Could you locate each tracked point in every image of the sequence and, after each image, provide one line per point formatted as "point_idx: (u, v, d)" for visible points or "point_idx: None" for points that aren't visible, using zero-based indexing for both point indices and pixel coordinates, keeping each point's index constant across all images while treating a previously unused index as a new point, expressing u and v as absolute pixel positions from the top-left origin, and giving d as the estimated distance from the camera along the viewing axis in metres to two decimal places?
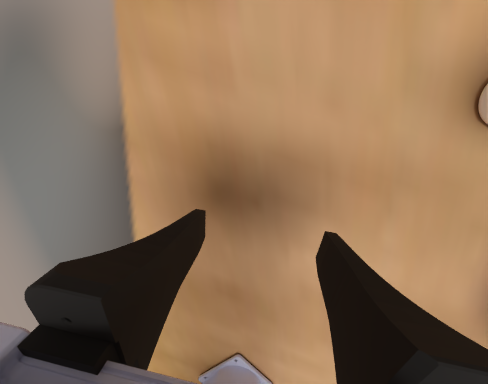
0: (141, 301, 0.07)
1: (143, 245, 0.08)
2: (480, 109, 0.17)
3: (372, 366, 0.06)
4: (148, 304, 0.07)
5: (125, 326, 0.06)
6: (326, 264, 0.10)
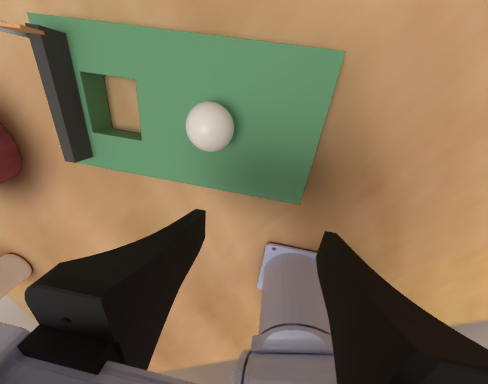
0: (141, 301, 0.07)
1: (143, 245, 0.08)
2: (30, 273, 0.34)
3: (372, 366, 0.06)
4: (148, 304, 0.07)
5: (125, 326, 0.06)
6: (326, 264, 0.10)
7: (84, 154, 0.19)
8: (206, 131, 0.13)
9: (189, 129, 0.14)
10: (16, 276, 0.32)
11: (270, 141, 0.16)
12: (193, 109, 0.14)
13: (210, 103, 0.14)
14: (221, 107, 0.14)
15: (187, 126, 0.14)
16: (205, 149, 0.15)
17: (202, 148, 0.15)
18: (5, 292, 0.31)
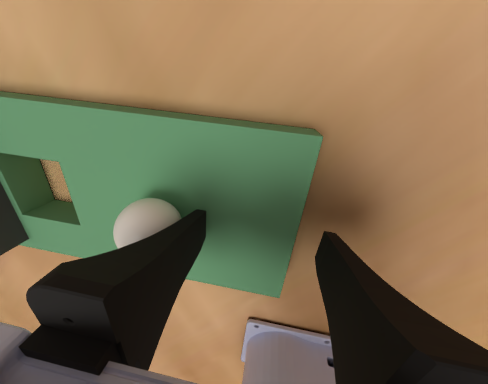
0: (143, 301, 0.07)
1: (144, 246, 0.08)
2: None
3: (370, 366, 0.06)
4: (149, 304, 0.07)
5: (127, 326, 0.06)
6: (325, 264, 0.10)
7: (14, 241, 0.15)
8: None
9: (115, 243, 0.10)
10: None
11: (234, 233, 0.13)
12: (119, 217, 0.10)
13: (142, 208, 0.10)
14: (158, 211, 0.10)
15: (114, 238, 0.10)
16: None
17: None
18: None
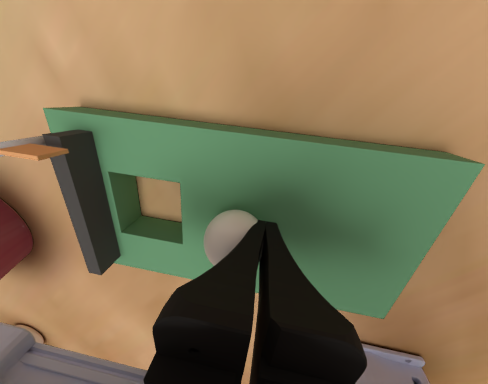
0: None
1: (235, 263, 0.07)
2: None
3: (260, 340, 0.06)
4: None
5: None
6: (262, 252, 0.11)
7: (111, 259, 0.15)
8: (205, 233, 0.11)
9: None
10: None
11: (353, 255, 0.13)
12: None
13: (231, 214, 0.11)
14: (230, 224, 0.10)
15: None
16: None
17: None
18: None
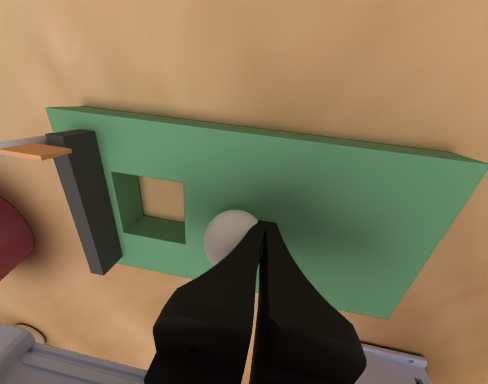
0: None
1: (235, 264, 0.07)
2: None
3: (260, 340, 0.06)
4: None
5: None
6: (262, 252, 0.11)
7: (113, 259, 0.15)
8: None
9: None
10: None
11: (357, 255, 0.13)
12: None
13: (231, 213, 0.11)
14: (228, 224, 0.10)
15: None
16: None
17: None
18: None
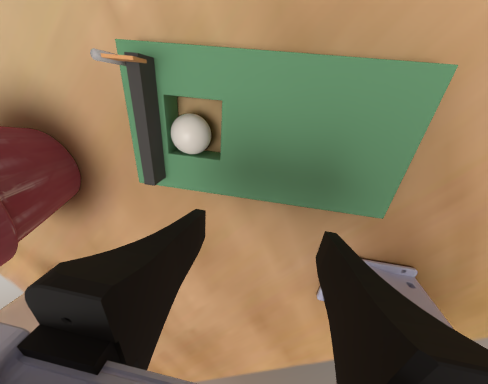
0: (141, 301, 0.07)
1: (143, 245, 0.08)
2: None
3: (372, 366, 0.06)
4: (148, 304, 0.07)
5: (125, 326, 0.06)
6: (326, 264, 0.10)
7: (160, 176, 0.19)
8: (185, 130, 0.16)
9: (173, 134, 0.17)
10: None
11: (359, 157, 0.16)
12: None
13: (187, 113, 0.17)
14: (196, 115, 0.17)
15: (171, 133, 0.17)
16: (188, 149, 0.17)
17: (186, 149, 0.17)
18: None
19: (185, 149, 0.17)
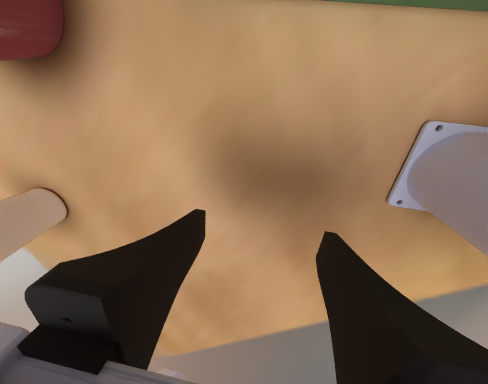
0: (141, 301, 0.07)
1: (143, 245, 0.08)
2: (65, 215, 0.27)
3: (372, 366, 0.06)
4: (148, 304, 0.07)
5: (125, 326, 0.06)
6: (326, 264, 0.10)
7: None
8: None
9: None
10: (50, 214, 0.25)
11: None
12: None
13: None
14: None
15: None
16: None
17: None
18: (37, 232, 0.24)
19: None
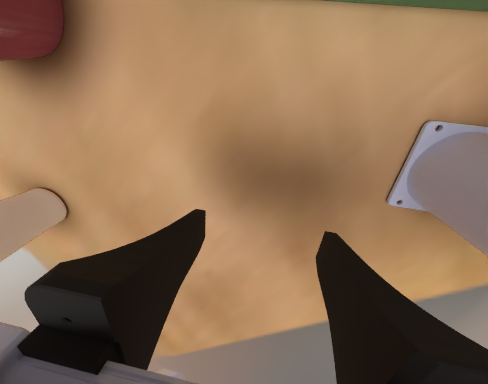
0: (141, 301, 0.07)
1: (143, 245, 0.08)
2: (65, 215, 0.27)
3: (372, 366, 0.06)
4: (148, 304, 0.07)
5: (125, 326, 0.06)
6: (326, 264, 0.10)
7: None
8: None
9: None
10: (50, 214, 0.25)
11: None
12: None
13: None
14: None
15: None
16: None
17: None
18: (37, 232, 0.24)
19: None
